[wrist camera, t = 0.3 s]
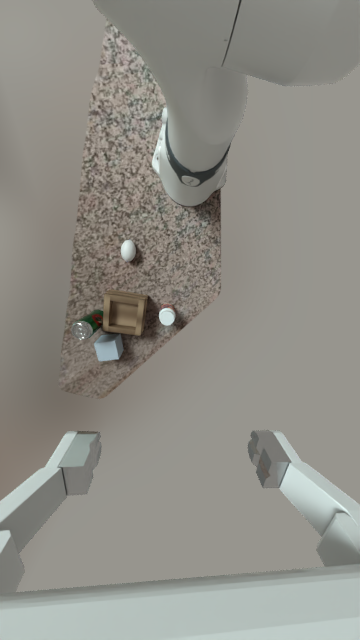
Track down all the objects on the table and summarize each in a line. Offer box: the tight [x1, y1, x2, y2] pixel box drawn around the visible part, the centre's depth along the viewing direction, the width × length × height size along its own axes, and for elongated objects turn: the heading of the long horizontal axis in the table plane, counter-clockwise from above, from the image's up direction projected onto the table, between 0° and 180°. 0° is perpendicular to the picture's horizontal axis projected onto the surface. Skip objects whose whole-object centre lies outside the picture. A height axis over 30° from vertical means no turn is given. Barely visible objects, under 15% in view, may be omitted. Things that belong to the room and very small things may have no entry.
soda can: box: [71, 310, 103, 339], centre depth 47 cm, size 5×5×12 cm
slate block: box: [94, 333, 124, 361], centre depth 53 cm, size 6×6×6 cm
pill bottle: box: [159, 304, 175, 325], centre depth 50 cm, size 5×5×8 cm
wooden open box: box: [103, 289, 148, 336], centre depth 50 cm, size 11×11×6 cm
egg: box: [121, 240, 136, 262], centre depth 46 cm, size 4×6×4 cm, turn 167°
